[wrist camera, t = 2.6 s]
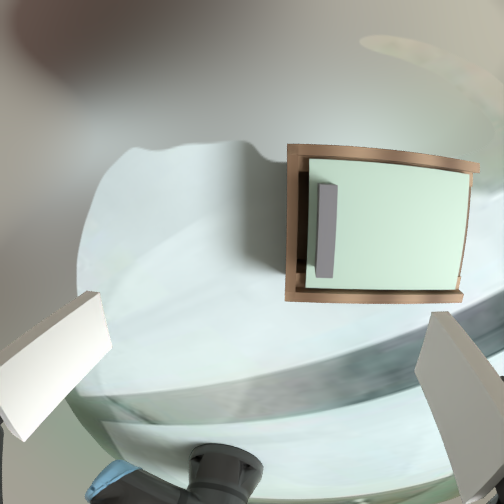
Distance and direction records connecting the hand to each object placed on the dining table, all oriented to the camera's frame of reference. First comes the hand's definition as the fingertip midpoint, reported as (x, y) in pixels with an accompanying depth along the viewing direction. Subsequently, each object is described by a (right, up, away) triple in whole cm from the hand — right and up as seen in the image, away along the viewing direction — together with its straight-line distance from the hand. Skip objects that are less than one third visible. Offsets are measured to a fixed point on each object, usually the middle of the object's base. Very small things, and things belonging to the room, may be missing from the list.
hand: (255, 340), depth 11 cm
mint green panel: (+14, +6, +16) cm, 22 cm away
